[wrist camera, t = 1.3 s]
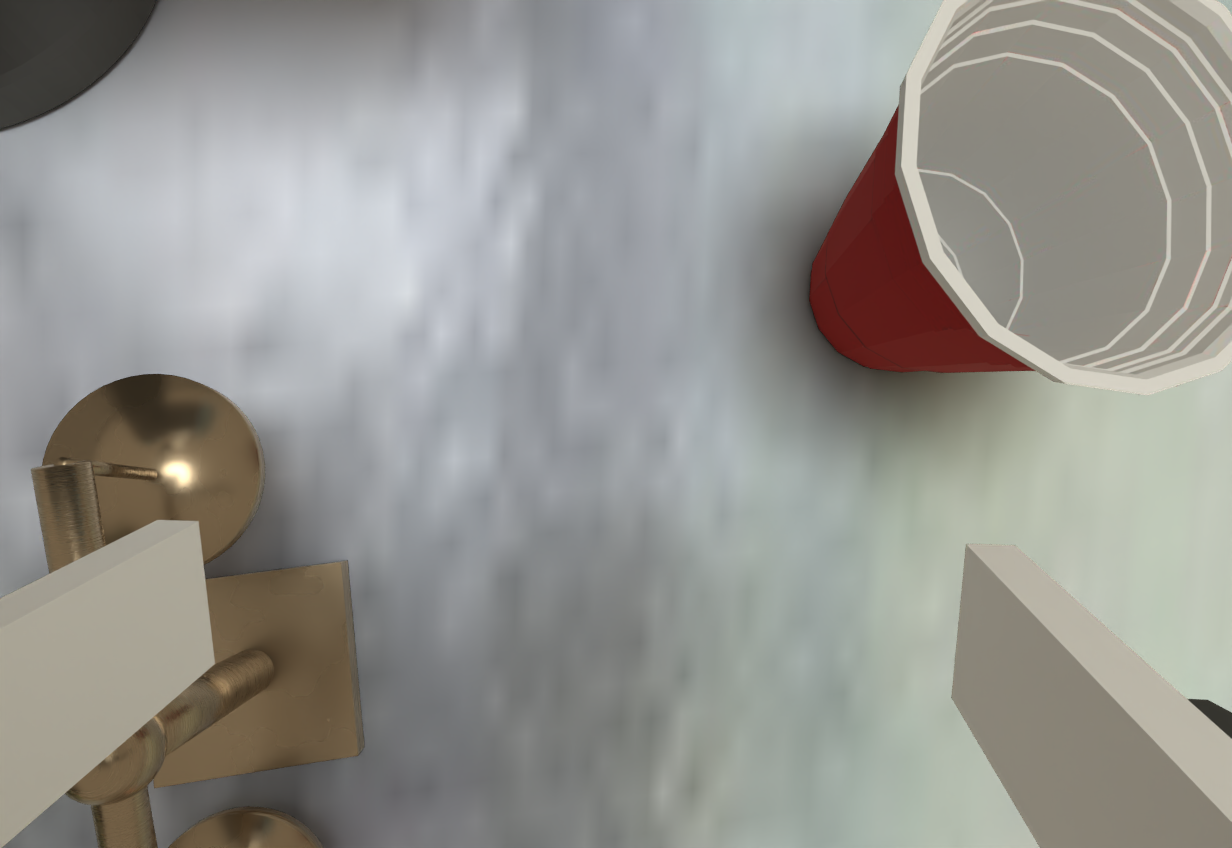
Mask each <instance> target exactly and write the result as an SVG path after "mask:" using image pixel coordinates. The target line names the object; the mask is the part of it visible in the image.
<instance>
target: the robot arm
mask: <svg viewBox="0 0 1232 848" xmlns="http://www.w3.org/2000/svg"><path fill="white" fill-rule="evenodd" d="M155 2H156V0H0V128H4V127H7V126H11V125H14V124H17V123H19V122H22V121H25V120H28V119H30V118H33V117H35V116H37V115H40V114H42V113H44V112H47V111H48V110H50V109H52V108H54V107H56V106H58V105H60V104H62V103H64V102H65V101H67V100H68V99H70V98H72V97H73V96H75V95H77V94H78V93H79V92H81V91H82V90H84V89H85V88H86V87H88V86H89V85H91V84H92V83H93V82H94V81H95V80H97V79H98V78H99V77H100V76H102V75H103V74H104V73H105V72H106V71H107V70H108V69H109V68H110V67H111V66H112V65H113V64H114V63H115V62H116V61H117V60H118V59H119V58H120V57H121V56H122V54H123V53H124V52H125V51H126V50H127V49H128V47H129V46H130V45H131V43H132V42H133V41H134V40H135V38H136V37H137V35H138V34H139V32H140V31H141V29H142V27H143V26H144V24H145V23H146V21H147V19H148V17H149V15H150V13H151V11H152V9H153V7H154V5H155ZM214 664H215V660H214V651H213V642H212V634H211V625H210V616H209V607H208V599H207V590H206V581H205V573H204V564H203V555H202V547H201V538H200V529H199V521H179V520H156V521H154V522H152V523H150V524H148V525H146V526H144V527H142V528H140V529H138V530H136V531H134V532H132V533H130V534H128V535H126V536H124V537H122V538H120V539H118V540H116V541H114V542H112V543H110V544H108V545H106V546H104V547H102V548H100V549H98V550H96V551H94V552H92V553H90V554H88V555H86V556H84V557H82V558H80V559H78V560H76V561H74V562H72V563H70V564H68V565H66V566H64V567H62V568H60V569H58V570H56V571H54V572H52V573H50V574H48V575H46V576H44V577H42V578H40V579H38V580H36V581H34V582H32V583H30V584H28V585H26V586H24V587H22V588H20V589H18V590H16V591H14V592H12V593H10V594H8V595H6V596H4V597H2V598H0V848H2V847H3V846H4V845H5V844H7V843H8V842H9V841H10V840H11V839H12V838H14V837H15V836H16V835H17V834H18V833H19V832H21V831H22V830H23V829H24V828H25V827H26V826H27V825H29V824H30V823H31V822H32V821H33V820H34V819H36V818H37V817H38V816H39V815H40V814H41V813H43V812H44V811H45V810H46V809H47V808H48V807H50V806H51V805H52V804H53V803H54V802H55V801H56V800H58V799H59V798H60V797H61V796H62V795H63V794H65V793H66V792H67V791H68V790H69V789H70V788H72V787H73V786H74V785H75V784H76V783H77V782H79V781H80V780H81V779H82V778H83V777H84V776H85V775H87V774H88V773H89V772H90V771H91V770H92V769H94V768H95V767H96V766H97V765H98V764H99V763H101V762H102V761H103V760H104V759H105V758H106V757H107V756H109V755H110V754H111V753H112V752H113V751H114V750H116V749H117V748H118V747H119V746H120V745H121V744H123V743H124V742H125V741H126V740H127V739H128V738H130V737H131V736H132V735H133V734H134V733H135V732H136V731H138V730H139V729H140V728H141V727H142V726H143V725H145V724H146V723H147V722H148V721H149V720H150V719H152V718H153V717H154V716H155V715H156V714H157V713H159V712H160V711H161V710H162V709H163V708H164V707H165V706H167V705H168V704H169V703H170V702H171V701H172V700H174V699H175V698H176V697H177V696H178V695H179V694H181V693H182V692H183V691H184V690H185V689H186V688H187V687H189V686H190V685H191V684H192V683H193V682H194V681H196V680H197V679H198V678H199V677H200V676H201V675H203V674H204V673H205V672H206V671H207V670H208V669H210V668H211V667H212V666H213V665H214ZM951 698H952V700H953V701H954V703H955V705H956V706H957V708H958V710H959V711H960V713H961V715H962V716H963V718H964V720H965V722H966V723H967V725H968V727H969V728H970V730H971V732H972V733H973V735H974V737H975V738H976V740H977V742H978V744H979V745H980V747H981V749H982V750H983V752H984V754H985V755H986V757H987V759H988V761H989V762H990V764H991V766H992V767H993V769H994V771H995V772H996V774H997V776H998V777H999V779H1000V781H1001V783H1002V784H1003V786H1004V788H1005V789H1006V791H1007V793H1008V794H1009V796H1010V798H1011V799H1012V801H1013V803H1014V805H1015V806H1016V808H1017V810H1018V811H1019V813H1020V815H1021V816H1022V818H1023V820H1024V822H1025V823H1026V825H1027V827H1028V828H1029V830H1030V832H1031V833H1032V835H1033V837H1034V838H1035V840H1036V842H1037V844H1038V845H1039V847H1040V848H1232V713H1231V712H1229V711H1228V710H1226V709H1224V708H1222V707H1220V706H1218V705H1216V704H1214V703H1213V702H1211V701H1209V700H1199V699H1186V698H1185V697H1184V696H1183V695H1182V694H1181V693H1180V692H1179V691H1178V690H1176V689H1175V688H1174V687H1173V686H1172V685H1171V684H1170V683H1169V682H1167V681H1166V680H1165V679H1164V678H1163V677H1162V676H1161V675H1160V674H1158V673H1157V672H1156V671H1155V670H1154V669H1153V668H1152V667H1151V666H1150V665H1148V664H1147V663H1146V662H1145V661H1144V660H1143V659H1142V658H1141V657H1139V656H1138V655H1137V654H1136V653H1135V652H1134V651H1133V650H1132V649H1131V648H1129V647H1128V646H1127V645H1126V644H1125V643H1124V642H1123V641H1122V640H1120V639H1119V638H1118V637H1117V636H1116V635H1115V634H1114V633H1113V632H1112V631H1110V630H1109V629H1108V628H1107V627H1106V626H1105V625H1104V624H1103V623H1101V622H1100V621H1099V620H1098V619H1097V618H1096V617H1095V616H1094V615H1093V614H1091V613H1090V612H1089V611H1088V610H1087V609H1086V608H1085V607H1084V606H1082V605H1081V604H1080V603H1079V602H1078V601H1077V600H1076V599H1075V598H1074V597H1072V596H1071V595H1070V594H1069V593H1068V592H1067V591H1066V590H1065V589H1063V588H1062V587H1061V586H1060V585H1059V584H1058V583H1057V582H1056V581H1054V580H1053V579H1052V578H1051V577H1050V576H1049V575H1048V574H1047V573H1046V572H1044V571H1043V570H1042V569H1041V568H1040V567H1039V566H1038V565H1037V564H1035V563H1034V562H1033V561H1032V560H1031V559H1030V558H1029V557H1028V556H1027V555H1025V554H1024V553H1023V552H1022V551H1021V550H1020V549H1019V548H1018V547H1016V546H1015V545H993V544H966V548H965V559H964V570H963V580H962V591H961V601H960V612H959V622H958V633H957V644H956V654H955V665H954V675H953V686H952V697H951Z"/></svg>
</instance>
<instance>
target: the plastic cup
mask: <svg viewBox="0 0 1232 848" xmlns="http://www.w3.org/2000/svg"><path fill="white" fill-rule="evenodd" d="M809 301H810V304H811V307H812V310H813V313H814V316H815V319H816V322H817V325H818V328H819V330H820V331H821V332H822V333H823V335H824V336H825V337H826V338H827V339H828V341H829V342H830V343H831V344H832V345H833V347H834V348H835V349H836V350H837V352H839V353H841V354H842V355H844V356H846V357H848V358H850V359H851V360H853V361H855V362H857V363H859V364H860V365H862V366H864V367H869V368H871V369H879V370H888V371H896V372H913V371H931V372H940V373H954V372H994V371H1037V372H1039V373H1040V374H1042V375H1043V376H1045V377H1047V378H1048V379H1050V380H1052V381H1054V382H1059V383H1065V384H1072V385H1079V386H1086V387H1093V388H1100V389H1107V390H1114V391H1121V392H1128V393H1135V394H1142V395H1151V394H1154V393H1157V392H1160V391H1163V390H1166V389H1169V388H1172V387H1175V386H1178V385H1181V384H1184V383H1187V382H1190V381H1193V380H1196V379H1199V378H1202V377H1205V376H1208V375H1211V374H1214V373H1217V372H1220V371H1222V370H1223V369H1224V368H1225V367H1226V366H1227V365H1228V364H1229V363H1230V362H1231V361H1232V15H1231V13H1230V12H1229V10H1228V9H1227V8H1226V7H1225V6H1224V5H1222V4H1221V3H1220V2H1218V1H1217V0H943V2H942V4H941V6H940V8H939V10H938V12H937V14H936V16H935V18H934V20H933V22H932V24H931V26H930V28H929V30H928V32H927V34H926V36H925V38H924V40H923V42H922V44H921V46H920V48H919V50H918V52H917V54H916V56H915V58H914V60H913V62H912V64H911V66H910V68H909V70H908V72H907V74H906V76H905V78H904V80H903V82H902V84H901V86H900V95H899V105H898V107H897V109H896V111H895V113H894V115H893V117H892V119H891V121H890V123H889V125H888V127H887V129H886V131H885V133H884V135H883V137H882V138H881V140H880V142H879V143H878V145H877V147H876V148H875V150H874V152H873V153H872V155H871V157H870V158H869V160H868V162H867V163H866V165H865V167H864V168H863V170H862V172H861V173H860V175H859V177H858V178H857V180H856V182H855V183H854V185H853V187H852V188H851V190H850V192H849V193H848V195H847V197H846V199H845V200H844V202H843V204H842V206H841V208H840V210H839V212H838V214H837V216H836V218H835V220H834V222H833V224H832V226H831V228H830V230H829V232H828V234H827V236H826V238H825V240H824V242H823V244H822V246H821V248H820V250H819V252H818V254H817V256H816V258H815V260H814V262H813V264H812V271H811V282H810V297H809Z"/></svg>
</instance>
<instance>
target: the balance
mask: <svg viewBox="0 0 1232 848" xmlns="http://www.w3.org/2000/svg"><path fill="white" fill-rule="evenodd" d="M31 474H32V479H33V485H34V490H35V496H36V502H37V507H38V513H39V518H40V524H41V530H42V535H43V541H44V546H45V552H46V557H47V563H48V569H49V574H50V573H52V572H54V571H56V570H58V569H60V568H62V567H64V566H66V565H68V564H70V563H72V562H74V561H76V560H78V559H80V558H82V557H84V556H86V555H88V554H90V553H92V552H94V551H96V550H98V549H100V548H102V547H104V546H106V545H108V544H110V543H112V542H114V541H116V540H118V539H120V538H122V537H124V536H126V535H128V534H130V533H132V532H134V531H136V530H138V529H140V528H142V527H144V526H146V525H148V524H150V523H152V522H154V521H156V520H179V521H199V529H200V538H201V547H202V555H203V564H207V563H209V562H210V561H212V560H214V559H215V558H217V557H218V556H220V555H221V554H223V553H224V552H225V551H226V550H227V549H229V548H230V547H231V546H232V545H233V544H234V543H235V542H236V541H237V540H238V539H239V538H240V537H241V536H242V534H243V533H244V532H245V530H246V529H247V528H248V526H249V524H250V523H251V521H252V519H253V517H254V516H255V514H256V511H257V509H258V506H259V504H260V501H261V497H262V494H263V490H264V482H265V461H264V455H263V450H262V447H261V443H260V440H259V438H258V435H257V433H256V431H255V429H254V427H253V426H252V424H251V422H250V421H249V419H248V418H247V416H246V415H245V414H244V413H243V412H242V411H241V409H240V408H239V407H238V406H237V405H235V404H234V403H233V402H232V401H231V400H230V399H228V398H227V397H225V396H224V395H222V394H221V393H220V392H218V391H216V390H214V389H212V388H210V387H208V386H205V385H203V384H201V383H198V382H195V381H192V380H189V379H187V378H183V377H178V376H173V375H164V374H144V375H138V376H131V377H127V378H124V379H120V380H117V381H114V382H112V383H109V384H107V385H105V386H103V387H101V388H99V389H97V390H96V391H94V392H92V393H90V394H89V395H88V396H86V397H85V398H84V399H82V400H81V401H80V402H78V403H77V404H76V405H75V406H74V407H73V408H72V409H71V410H70V411H69V412H68V413H67V415H66V416H65V417H64V418H63V419H62V421H61V422H60V423H59V425H58V427H57V428H56V430H55V431H54V433H53V435H52V437H51V439H50V441H49V444H48V446H47V449H46V452H45V455H44V458H43V463H42V466H40V467H36V468H32V469H31ZM205 581H206V590H207V599H208V607H209V616H210V625H211V634H212V642H213V651H214V660H215V664H214V665H213V666H212V667H211V668H210V669H208V670H207V671H206V672H205V673H204V674H203V675H201V676H200V677H199V678H198V679H197V680H196V681H194V682H193V683H192V684H191V685H190V686H189V687H187V688H186V689H185V690H184V691H183V692H182V693H181V694H179V695H178V696H177V697H176V698H175V699H174V700H172V701H171V702H170V703H169V704H168V705H167V706H165V707H164V708H163V709H162V710H161V711H160V712H159V713H157V714H156V715H155V716H154V717H153V718H152V719H150V720H149V721H148V722H147V723H146V724H145V725H143V726H142V727H141V728H140V729H139V730H138V731H136V732H135V733H134V734H133V735H132V736H131V737H130V738H128V739H127V740H126V741H125V742H124V743H123V744H121V745H120V746H119V747H118V748H117V749H116V750H114V751H113V752H112V753H111V754H110V755H109V756H107V757H106V758H105V759H104V760H103V761H102V762H101V763H99V764H98V765H97V766H96V767H95V768H94V769H92V770H91V771H90V772H89V773H88V774H87V775H85V776H84V777H83V778H82V779H81V780H80V781H79V782H77V783H76V784H75V785H74V786H73V787H72V788H70V789H69V790H68V791H67V792H66V793H65V794H66V795H67V796H68V797H70V798H71V799H73V800H75V801H77V802H80V803H83V804H86V805H91V809H92V814H93V820H94V826H95V831H96V837H97V842H98V848H158V847H157V841H156V835H155V829H154V823H153V817H152V812H151V806H150V800H149V794H148V788H147V785H148V784H149V783H150V782H151V781H152V780H153V779H154V788H159V787H165V786H171V785H177V784H184V783H190V782H196V781H202V780H209V779H215V778H221V777H228V776H234V775H240V774H246V773H253V772H259V771H265V770H271V769H278V768H284V767H290V766H296V765H303V764H309V763H315V762H321V761H328V760H334V759H340V758H346V757H353V756H358V755H359V754H360V752H361V751H362V749H363V748H364V736H363V725H362V714H361V703H360V692H359V681H358V670H357V659H356V648H355V636H354V625H353V614H352V603H351V592H350V581H349V570H348V561H340V562H332V563H324V564H317V565H309V566H301V567H293V568H286V569H278V570H270V571H262V572H255V573H247V574H239V575H231V576H223V577H216V578H208V579H205ZM168 848H324V847H323V846H322V844H321V842H320V841H319V839H318V838H317V837H316V836H315V835H314V833H313V832H312V831H311V830H310V829H309V828H307V827H306V826H305V825H304V824H303V823H301V822H300V821H298V820H297V819H295V818H294V817H292V816H290V815H288V814H285V813H283V812H280V811H277V810H274V809H270V808H264V807H250V806H247V807H237V808H232V809H228V810H223V811H221V812H218V813H215V814H213V815H210V816H208V817H206V818H205V819H203V820H201V821H199V822H198V823H196V824H195V825H193V826H192V827H190V828H189V829H188V830H187V831H185V832H184V833H183V834H182V835H181V836H180V837H179V838H178V839H177V840H175V841H174V842H173V843H172V844H171V845H170V846H169V847H168Z"/></svg>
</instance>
